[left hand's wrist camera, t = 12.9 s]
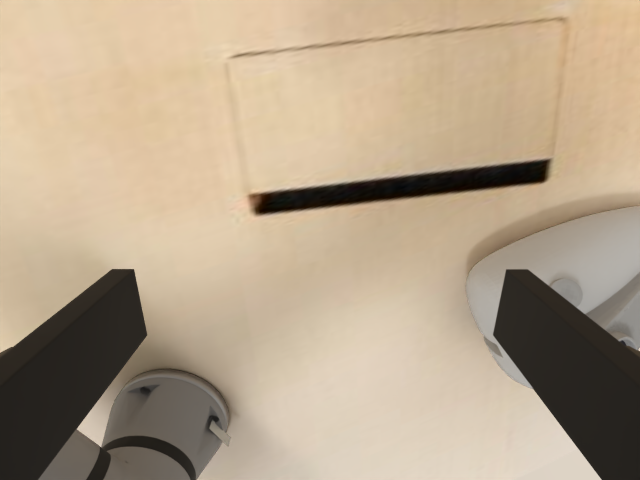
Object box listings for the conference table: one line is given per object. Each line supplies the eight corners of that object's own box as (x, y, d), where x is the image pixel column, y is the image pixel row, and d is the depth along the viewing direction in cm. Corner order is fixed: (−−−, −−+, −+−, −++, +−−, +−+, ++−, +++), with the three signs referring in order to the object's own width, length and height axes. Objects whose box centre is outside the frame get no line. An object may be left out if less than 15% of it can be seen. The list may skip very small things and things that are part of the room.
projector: (593, 370, 47) (706, 480, 33) (427, 338, 45) (473, 440, 31) (690, 212, 39) (888, 268, 26) (494, 166, 38) (594, 201, 24)
